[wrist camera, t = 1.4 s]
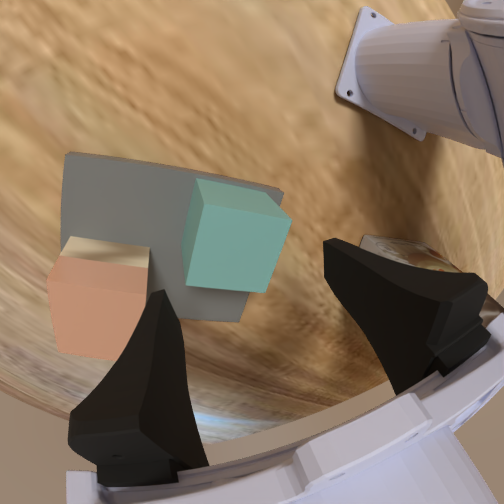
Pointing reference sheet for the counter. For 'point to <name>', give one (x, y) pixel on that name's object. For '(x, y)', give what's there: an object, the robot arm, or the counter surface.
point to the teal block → (232, 237)
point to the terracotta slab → (95, 305)
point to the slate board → (147, 222)
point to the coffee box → (423, 263)
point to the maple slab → (106, 252)
